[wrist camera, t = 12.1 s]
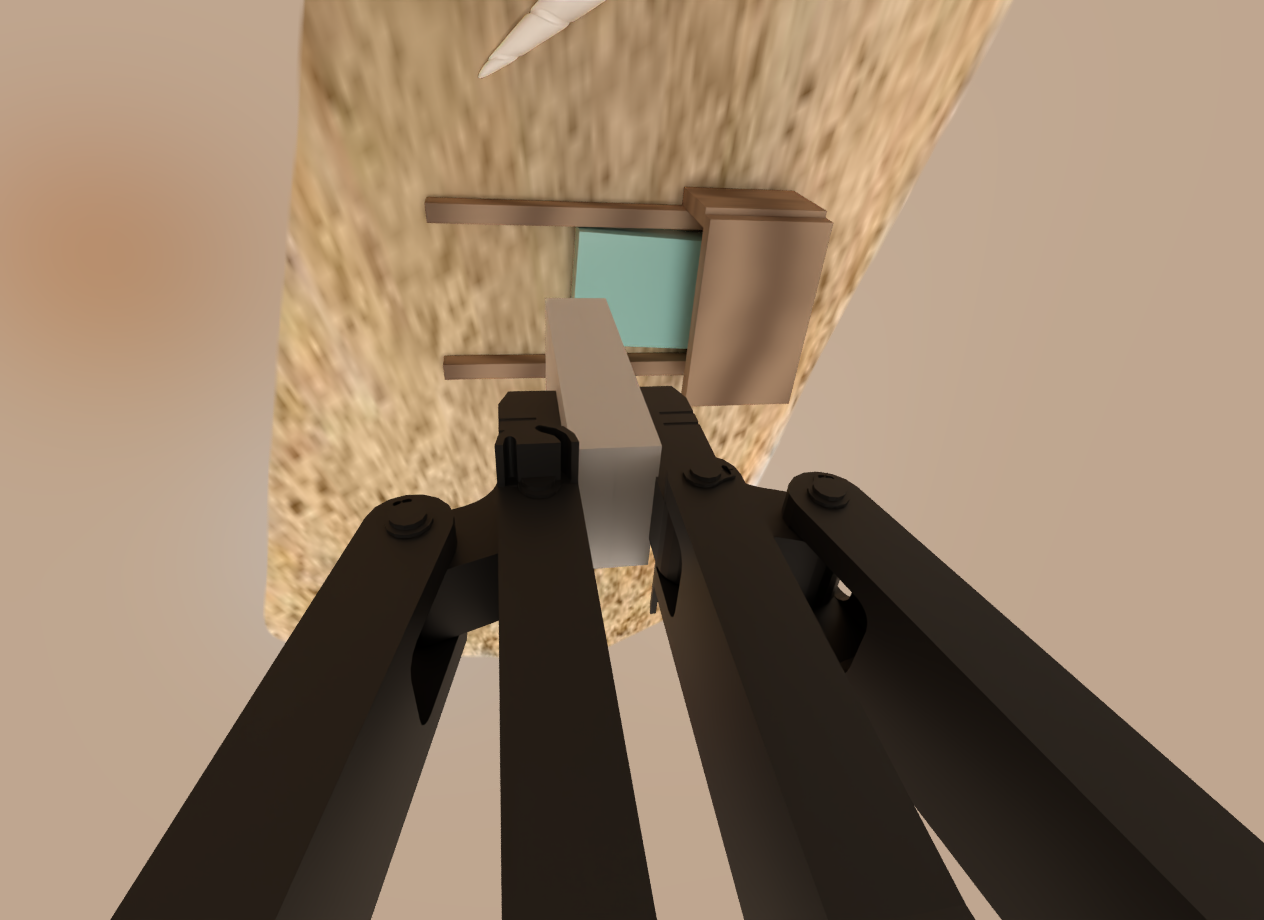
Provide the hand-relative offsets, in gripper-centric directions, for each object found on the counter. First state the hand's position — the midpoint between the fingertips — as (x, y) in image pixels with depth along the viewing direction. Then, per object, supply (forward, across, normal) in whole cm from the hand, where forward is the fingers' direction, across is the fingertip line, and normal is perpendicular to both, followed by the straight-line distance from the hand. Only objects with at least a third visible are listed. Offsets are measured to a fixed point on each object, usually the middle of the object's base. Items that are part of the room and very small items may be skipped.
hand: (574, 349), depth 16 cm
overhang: (+29, +6, -9) cm, 31 cm away
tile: (+30, +9, -9) cm, 32 cm away
